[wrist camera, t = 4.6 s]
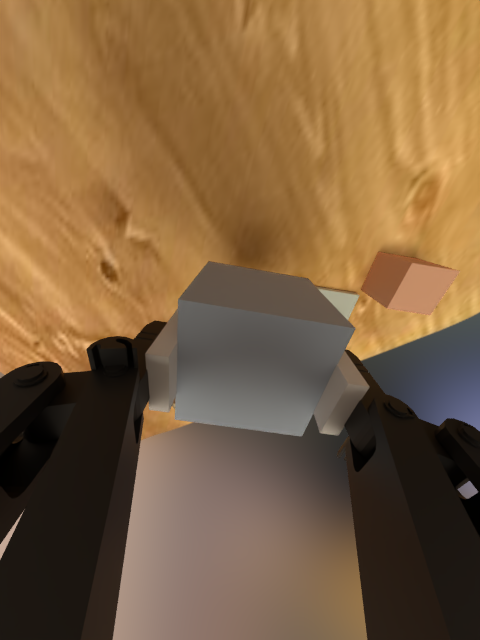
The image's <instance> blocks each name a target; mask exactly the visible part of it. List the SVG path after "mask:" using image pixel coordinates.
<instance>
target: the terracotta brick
mask: <svg viewBox="0 0 480 640" xmlns="http://www.w3.org/2000/svg"><path fill="white" fill-rule="evenodd" d="M459 272H460V271H458V270H455V269H451V268H448V267H445V266H441V265H438V264H434V263H431V262H427V261H424V260H421V259H417V258H412V257H406V256H400V255H394V254H388V253H382V252H378V254H377V256H376V258H375V260H374V262H373V264H372V267H371V269H370V271H369V273H368V275H367V277H366V279H365V282H364V284H363V286H362V288H361V290H362V291H363V292H365V293H366V294H368V295H369V296H370V297H372V298H373V299H375V300H376V301H377V302H379V303H380V304H382V305H383V306H384V307H386V308H388V309H394V310H400V311H406V312H413V313H419V314H425V315H431V313H432V312H433V310H434V309H435V308H436V306H437V305H438V303H439V302H440V300H441V299H442V297H443V296H444V294H445V293H446V291H447V290H448V288H449V287H450V285H451V284H452V283H453V281H454V280H455V278H456V277H457V275H458V274H459Z"/></svg>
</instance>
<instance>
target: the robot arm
mask: <svg viewBox="0 0 480 640" xmlns="http://www.w3.org/2000/svg"><path fill="white" fill-rule="evenodd" d="M177 327H178V309H177V310H176V312H175V313H174V314H173V316H172V317H171V318H170V320H169V321H168V323H167V322H161V321H153V322H151V323H149V324H147V325H146V326H145V327H144V328H143V329H142V330H141V332H140V333H139V334H138V335H137V336H136V338H134V339H130V338H127V337H121V336H115V337H107V338H104V339H101V340H98V341H96V342H94V343H93V344H91V345H90V346H89V347H88V348H87V353H88V358H89V362H90V366H91V371H84V372H72V373H63V371H62V368H61V366H59V365H58V364H57V363H54V362H36V363H31V364H27V365H24V366H22V367H19V368H16V369H15V370H13V371H11V372H9V373H8V374H6V375H5V376H3V377H2V378H0V544H1V542H2V541H3V539H4V538H5V537H6V535H7V534H8V532H9V531H10V529H11V528H12V526H13V525H14V524H15V522H16V520H17V519H18V518H19V516H20V515H21V514H22V512H23V511H24V512H23V514H22V516H21V518H20V520H19V522H18V524H17V526H16V529H15V531H14V533H13V535H12V537H11V539H10V541H9V543H8V545H7V547H6V549H5V552H4V553H3V556H2V558H1V560H0V640H112V639H113V632H114V625H115V618H116V610H117V603H118V597H119V590H120V582H121V575H122V568H123V561H124V554H125V547H126V540H127V533H128V525H129V519H130V512H131V505H132V498H133V491H134V484H135V477H136V469H137V462H138V455H139V448H140V441H141V434H142V427H143V420H144V417H143V410H144V408H145V406H146V405H147V403H148V401H149V410H155V411H162V412H169V411H170V409H171V406H172V404H173V401H174V399H175V396H176V392H177V349H178V341H177ZM313 413H314V416H315V419H316V422H317V425H318V428H319V431H320V433H324V434H331V435H339V434H340V432H341V431H342V429H343V428H344V426H345V428H346V430H347V432H348V434H349V436H348V437H347V439H346V440H345V442H344V443H343V445H342V446H341V448H340V449H339V451H338V453H337V457H338V458H340V457H341V456H342V454H343V453H344V452H346V457H345V459H344V460H346V461H347V470H348V478H349V487H350V495H351V504H352V512H353V519H354V529H355V537H356V546H357V555H358V563H359V572H360V580H361V589H362V597H363V604H364V605H363V606H364V614H365V622H366V631H367V638H368V640H480V431H478V430H477V429H476V428H475V427H473V426H471V425H468V424H467V423H465V422H462V421H459V420H456V419H446V420H445V421H444V422H443V423H442V424H441V425H440V426H436V425H434V424H431V423H429V422H426V421H423V420H421V419H419V418H418V417H417V415H416V414H415V413H414V411H413V410H412V409H411V408H410V407H409V406H408V405H406V404H405V403H403V402H402V401H400V400H399V399H397V398H394V397H392V396H390V395H386V394H385V393H384V392H383V390H382V389H381V388H380V386H379V385H378V384H377V383H376V381H375V380H374V379H373V377H372V376H371V375H370V373H368V371H367V369H366V368H365V367H364V366H363V364H362V363H361V361H360V360H359V359H358V357H357V356H355V355H354V354H353V353H352V352H350V351H349V350H345V351H344V353H343V355H342V357H341V359H340V361H339V363H338V365H336V367H335V369H334V371H333V373H332V375H331V377H330V379H329V382H328V384H327V386H326V388H325V390H324V392H323V394H322V396H321V398H320V400H319V402H318V404H317V406H316V408H315V410H314V412H313ZM468 481H471V483H472V484H473V485H474V487H475V488H476V489H477V490H478V493H477V494H475V495H474V496H472V497H471V498H469V499H466V498H465V497H463V496H462V495H461V493H460V492H459V491H458V490H457V489H458V488H460V487H461V486H463V485H464V484H465V483H467V482H468ZM24 509H25V510H24Z"/></svg>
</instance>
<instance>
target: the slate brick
mask: <svg viewBox="0 0 480 640" xmlns="http://www.w3.org/2000/svg"><path fill="white" fill-rule="evenodd" d="M354 330H355V327H354V326H353V325H352V324H351V323H350V322H349V321H348V320H347V319H346V318H345V317H344V316H343V315H342V314H341V313H340V312H339V311H338V310H337V308H336V307H335V306H334V305H333V304H332V303H331V302H330V301H329V300H328V299H327V298H326V297H325V296H324V295H323V294H322V293H321V292H320V291H319V290H318V289H317V288H316V286H315V285H314V284H313V283H312V282H311V281H310V280H309V279H307V278H302V277H296V276H290V275H284V274H279V273H273V272H267V271H262V270H256V269H250V268H244V267H239V266H233V265H227V264H221V263H216V262H210V261H208V263H207V264H206V265H205V266H204V268H203V269H202V270H201V272H200V273H199V274H198V275H197V277H196V278H195V279H194V280H193V282H192V283H191V284H190V285H189V287H188V288H187V289H186V290H185V292H184V293H183V294H182V295H181V297H180V298H179V299H178V327H177V341H178V349H177V392H176V399H175V420H182V421H190V422H198V423H205V424H212V425H220V426H227V427H235V428H242V429H250V430H257V431H265V432H272V433H280V434H287V435H295V436H302V435H303V433H304V431H305V429H306V427H307V425H308V423H309V421H310V419H311V417H312V415H313V412H314V410H315V408H316V406H317V404H318V402H319V400H320V398H321V396H322V394H323V392H324V390H325V388H326V386H327V384H328V382H329V379H330V377H331V375H332V373H333V371H334V369H335V367H336V365H338V363H339V361H340V359H341V357H342V355H343V353H344V351H345V349H346V347H347V345H348V343H349V340H350V338H351V336H352V334H353V332H354Z"/></svg>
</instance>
